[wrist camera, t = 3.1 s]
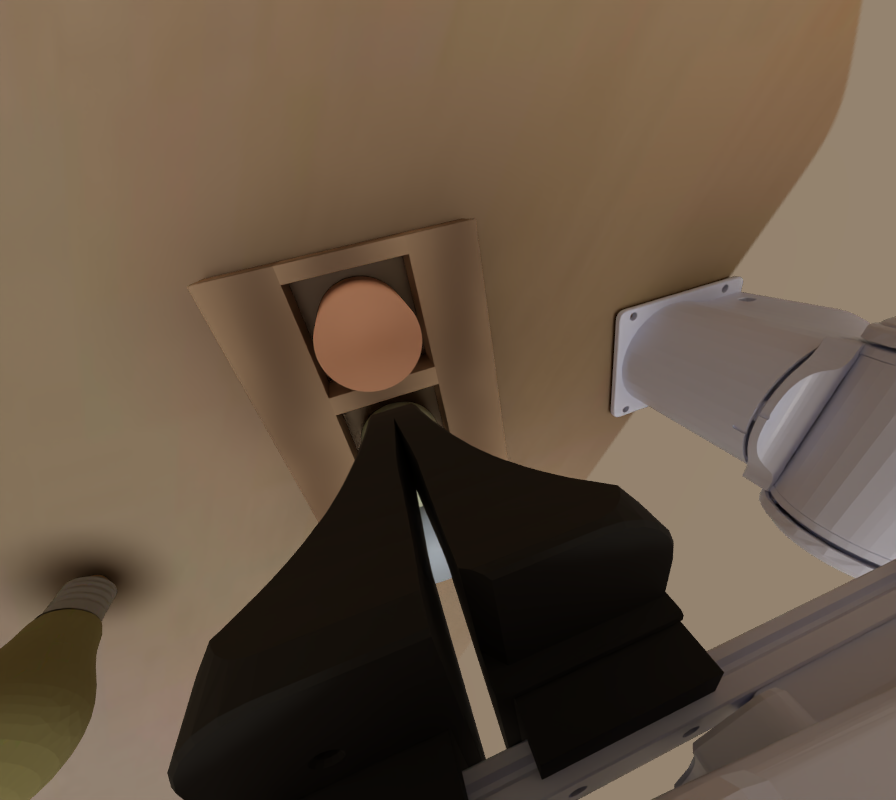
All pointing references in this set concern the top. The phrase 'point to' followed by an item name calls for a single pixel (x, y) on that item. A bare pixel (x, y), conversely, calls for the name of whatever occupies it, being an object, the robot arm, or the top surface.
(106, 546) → the top surface
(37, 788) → the light bulb
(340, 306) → the orange rounded lump
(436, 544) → the grey rounded piece
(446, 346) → the wooden compartment tray
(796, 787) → the robot arm
